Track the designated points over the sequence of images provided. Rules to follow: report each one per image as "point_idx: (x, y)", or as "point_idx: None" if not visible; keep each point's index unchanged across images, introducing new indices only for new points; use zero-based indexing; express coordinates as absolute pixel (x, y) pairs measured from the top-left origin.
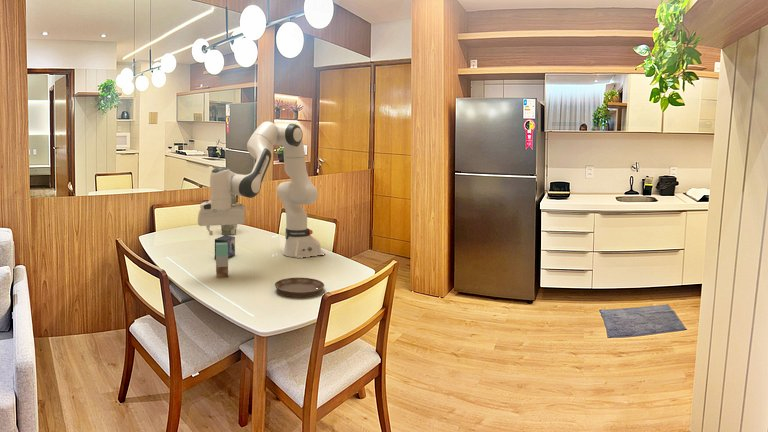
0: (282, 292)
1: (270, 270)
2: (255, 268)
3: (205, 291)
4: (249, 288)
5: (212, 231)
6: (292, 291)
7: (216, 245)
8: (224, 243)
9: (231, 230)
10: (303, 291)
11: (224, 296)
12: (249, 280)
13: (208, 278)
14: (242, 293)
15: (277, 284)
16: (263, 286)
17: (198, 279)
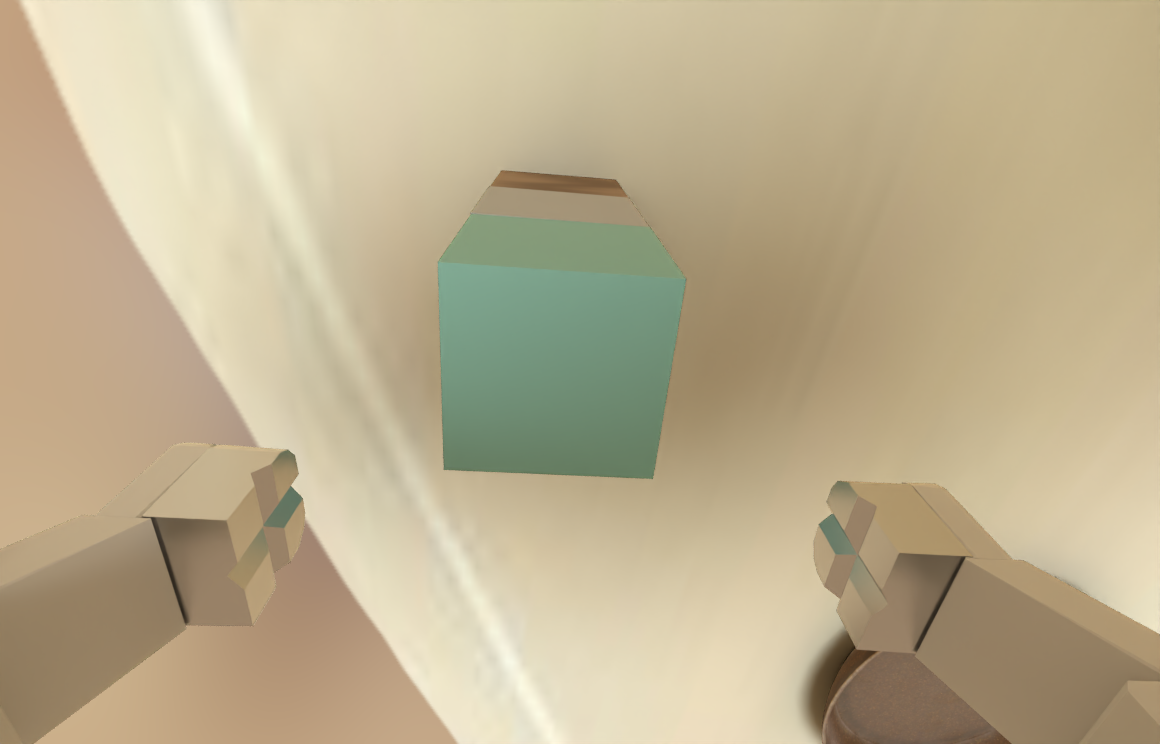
0: (831, 738)
1: (1061, 161)
2: (964, 18)
3: (410, 573)
4: (695, 580)
5: (244, 608)
6: (903, 688)
7: (449, 468)
8: (612, 359)
9: (876, 619)
10: (958, 696)
11: (521, 666)
12: (750, 423)
13: (425, 279)
14: (630, 646)
15: (866, 652)
16: (793, 566)
17: (334, 287)
